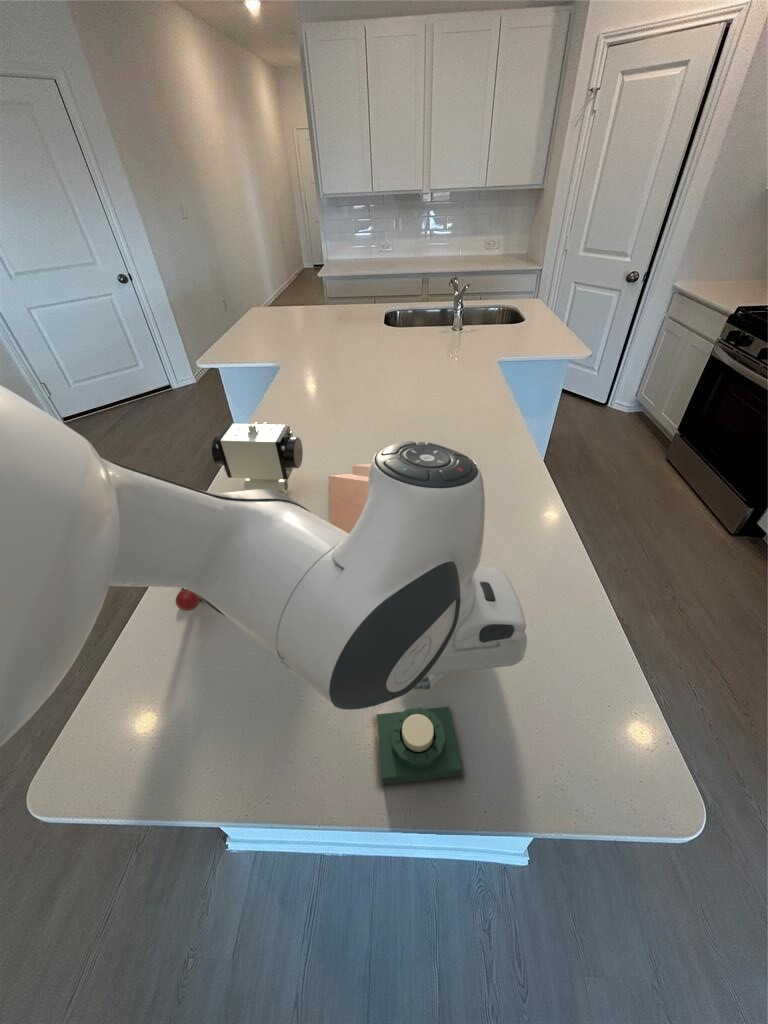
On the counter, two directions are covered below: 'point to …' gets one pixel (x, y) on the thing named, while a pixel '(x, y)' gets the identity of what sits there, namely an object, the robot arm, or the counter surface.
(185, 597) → the lever
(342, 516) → the house
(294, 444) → the ball valve
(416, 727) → the button
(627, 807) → the counter surface
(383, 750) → the control block
